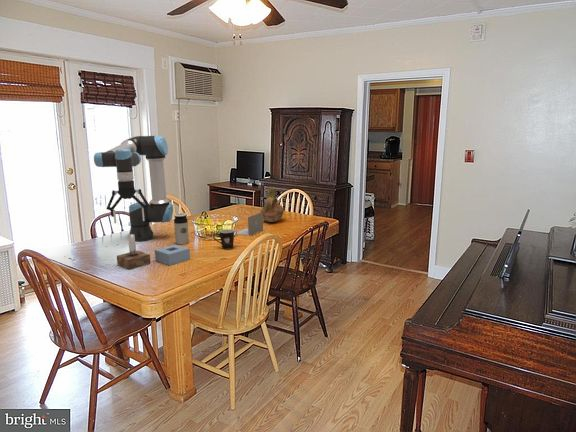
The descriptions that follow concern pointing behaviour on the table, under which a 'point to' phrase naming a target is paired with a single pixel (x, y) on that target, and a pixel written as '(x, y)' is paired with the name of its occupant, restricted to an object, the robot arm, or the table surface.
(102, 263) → the table surface
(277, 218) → the ceramic vessel
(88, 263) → the table surface
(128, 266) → the block
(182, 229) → the travel mug
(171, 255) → the socket block
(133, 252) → the pin
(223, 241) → the coffee mug
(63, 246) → the table surface
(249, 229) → the laptop
